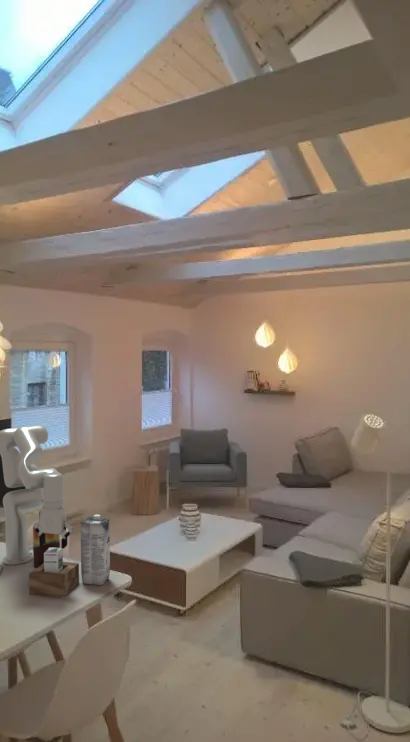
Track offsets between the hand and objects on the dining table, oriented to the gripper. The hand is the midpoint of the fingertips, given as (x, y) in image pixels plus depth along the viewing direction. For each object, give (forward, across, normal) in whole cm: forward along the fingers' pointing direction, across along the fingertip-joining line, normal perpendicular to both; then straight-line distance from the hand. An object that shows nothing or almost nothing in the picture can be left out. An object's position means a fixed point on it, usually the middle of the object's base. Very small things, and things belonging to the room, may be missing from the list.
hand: (53, 545), depth 219 cm
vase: (+18, -11, +13) cm, 25 cm away
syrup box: (+16, +1, -1) cm, 16 cm away
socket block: (+17, +1, -1) cm, 17 cm away
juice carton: (+17, +14, +9) cm, 24 cm away
